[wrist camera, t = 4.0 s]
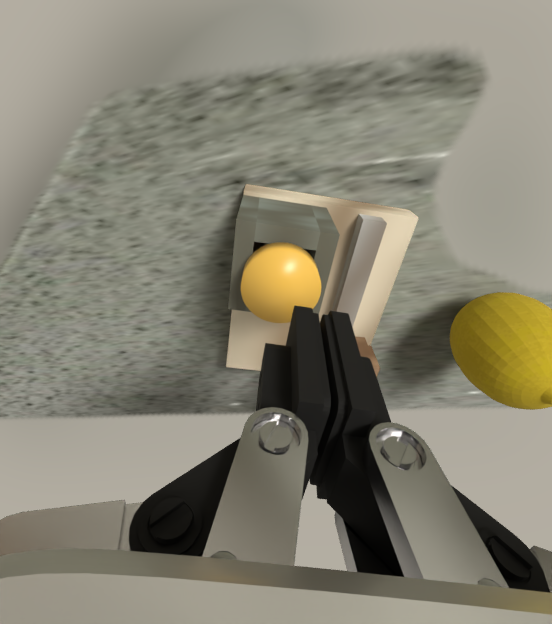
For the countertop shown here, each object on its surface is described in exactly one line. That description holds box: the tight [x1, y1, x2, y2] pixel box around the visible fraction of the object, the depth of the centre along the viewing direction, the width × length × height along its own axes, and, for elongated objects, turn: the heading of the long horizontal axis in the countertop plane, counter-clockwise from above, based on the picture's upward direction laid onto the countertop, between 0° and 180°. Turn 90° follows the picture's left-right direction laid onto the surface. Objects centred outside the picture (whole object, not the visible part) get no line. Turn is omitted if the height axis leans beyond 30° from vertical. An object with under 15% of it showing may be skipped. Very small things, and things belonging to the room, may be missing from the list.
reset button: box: [241, 242, 321, 323], centre depth 16 cm, size 3×3×5 cm
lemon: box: [450, 292, 552, 409], centre depth 19 cm, size 6×6×8 cm
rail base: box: [226, 184, 418, 371], centre depth 19 cm, size 9×12×6 cm
